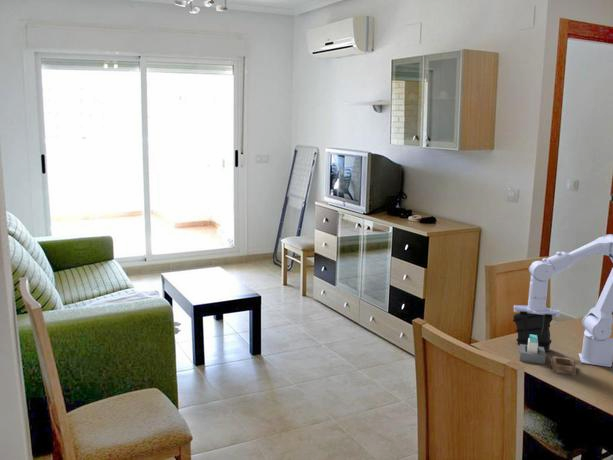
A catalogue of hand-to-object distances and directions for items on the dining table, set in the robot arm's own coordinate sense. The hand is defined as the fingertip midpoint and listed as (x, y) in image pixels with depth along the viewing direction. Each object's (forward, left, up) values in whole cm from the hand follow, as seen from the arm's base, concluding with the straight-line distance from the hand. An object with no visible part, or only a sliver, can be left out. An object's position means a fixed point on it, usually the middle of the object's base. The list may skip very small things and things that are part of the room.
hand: (533, 333), depth 199 cm
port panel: (0, 0, -9) cm, 9 cm away
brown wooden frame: (-10, +6, -9) cm, 14 cm away
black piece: (0, -11, -9) cm, 14 cm away
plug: (0, 0, -9) cm, 9 cm away
